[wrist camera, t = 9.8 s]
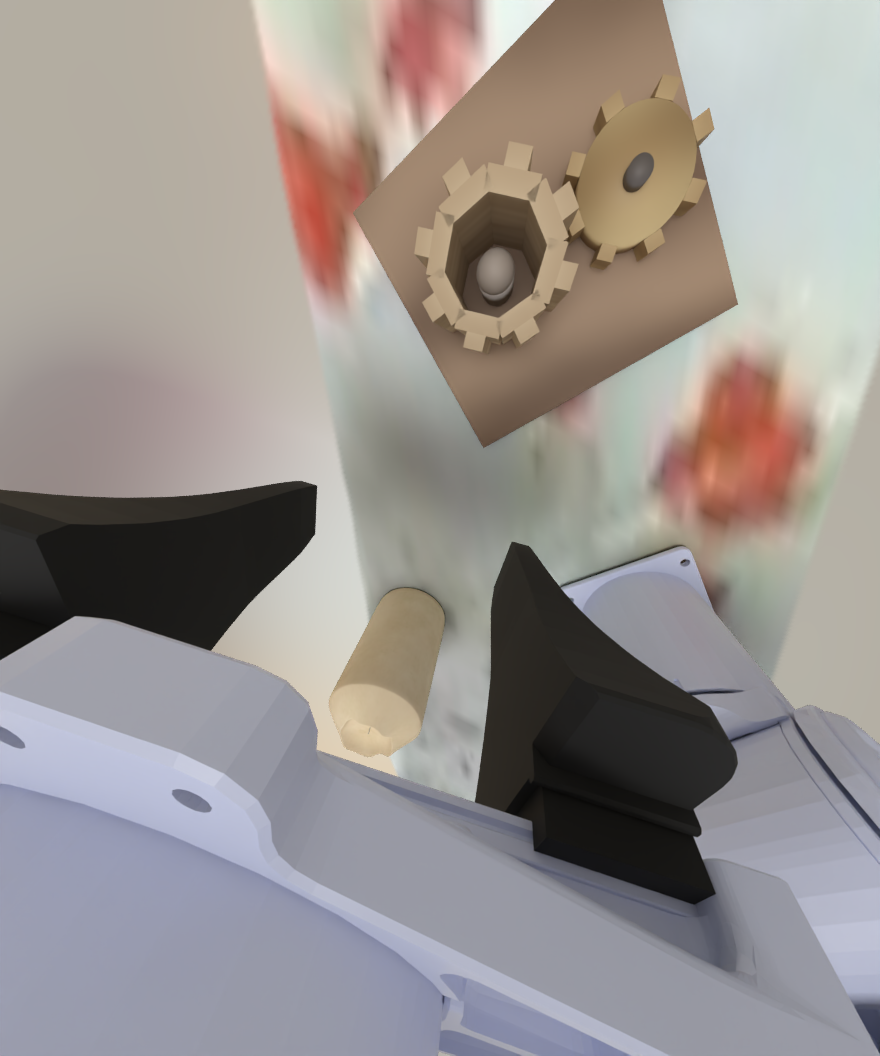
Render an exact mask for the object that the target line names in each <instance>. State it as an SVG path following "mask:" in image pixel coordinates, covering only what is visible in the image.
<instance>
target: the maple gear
mask: <svg viewBox="0 0 880 1056" xmlns="http://www.w3.org/2000/svg"><path fill="white" fill-rule="evenodd" d="M532 154H533V146H530V145H525V144H521V143H516V142H511V141H509V144H508V149H507V153H506V158H505V162H504V166H503V165H499V164H494V163H490V162H489V163H488V168H487V169H486V167H485V164H483V165H482V166H481V167H480V168H479V169H478V170H477V171H476V172H475V173H474V174H473V175H472V176H470V174H469V171H468V169H467V167H466V165H465V162H464V160H463V158H461V159H460V160H459V161H458V162H457V163H456V164H455V165H454V166H453V167H452V168H451V169H450V170H449V171H448V172H447V173H446V174H444V175H443V176H442V178H443V181H444V183H445V186H446V189H447V192H448V195H449V197H448V198H447V199H446V200H445V201H444V202H443V203H442V204H441V205H440V206H439V209H440V211H441V212H437V211H436V216H435V222H434V228H433V230H431V229H427V228H422V227H418V231H417V238H416V245H415V252H414V254H415V256H416V257H417V258H418V259H419V260H420V261H421V263H422V264H423V265H424V266H425V267H426V268H427V272H426V275H427V276H428V277H429V278H427V280H428V282H429V284H430V286H431V288H432V290H433V292H434V293H433V294H432V295H430V296H429V297H428V298H427V299H426V300H424V301H423V302H422V303H423V305H424V307H425V309H426V311H427V312H428V314H429V316H430V318H431V320H432V322H433V323H435V324H437V325H439V326H441V327H443V328H445V329H446V330H448V331H450V332H452V333H454V332H455V331H456V330H458V331H460V332H461V333H463V334H464V335H466V337H465V341H464V345H463V347H464V348H467V349H470V350H473V351H477V352H481V353H485V354H489V351H490V347H491V343H493V344H497V345H501V342H502V343H503V345H504V344H505V343H507V342H508V341H509V340H511V339H512V340H513V342H514V345H515V347H516V349H517V348H519V347H520V346H522V345H523V344H525V343H526V342H528V341H529V340H531V339H532V338H533V337H534V336H535V335H536V334H537V333H539V332H540V331H539V329H538V326H537V324H536V321H537V319H538V318H539V317H540V315H541V314H542V313H543V311H544V310H545V311H549V312H551V311H552V310H553V309H554V308H555V307H556V306H557V304H558V303H559V302H560V301H561V300H562V299H563V298H564V297H565V296H566V294H567V293H568V292H569V291H570V288H571V285H572V282H573V279H574V276H575V273H576V271H577V268H578V265H579V264H576V263H572V262H568V261H563V258H564V255H565V252H566V249H567V246H568V243H569V242H567V239H568V237H569V236H568V233H567V232H568V230H569V228H570V226H571V224H572V222H573V219H574V217H575V215H576V213H577V211H578V209H579V206H578V203H577V200H576V197H575V195H574V192H573V189H572V186H571V184H570V181H569V182H567V183H566V184H565V185H564V186H563V187H561V188H560V189H559V190H558V191H556V192H555V193H554V194H552V192H551V189H550V186H549V184H548V181H547V179H546V178H545V179H544V180H542V175H543V174H540V173H535V172H530V170H531V162H532ZM541 180H542V181H541ZM494 244H496V245H500V246H504V247H508V248H513V249H517V250H521V251H522V252H523V254H524V256H525V259H526V261H527V263H528V266H529V268H530V270H531V273H532V275H533V277H534V280H535V281H534V284H533V288H532V291H531V295H530V296H528V297H527V298H526V299H524V300H523V301H522V302H520V303H519V304H517V305H516V306H515V307H513V308H512V309H511V310H509V311H508V312H506V313H505V314H504V315H502V316H501V317H499V318H496V317H492V316H488V315H484V314H480V313H476V312H472V311H469V310H468V308H467V306H466V304H465V302H464V300H463V298H462V297H463V292H464V287H465V282H466V278H467V273H468V268H469V264H471V263H472V262H473V261H474V260H475V259H477V258H478V257H479V256H480V255H482V254H483V253H484V252H485V251H486V250H488V249H489V248H490V247H491V246H492V245H494Z"/></svg>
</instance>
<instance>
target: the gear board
mask: <svg viewBox="0 0 880 1056" xmlns="http://www.w3.org/2000/svg"><path fill="white" fill-rule="evenodd" d="M713 130H714V126H713V122H712V117H711V113H710V109H709V108H708V109H707V110H706V111H704V112H703V113H702V114H701V115H699V116H698V117H697V118H695V119H694V120H693V121H692V117H691V113H690V109H689V105H688V101H687V97H686V93H685V89H684V85H683V81H682V77H681V73H680V69H679V65H678V61H677V57H676V53H675V49H674V45H673V41H672V37H671V33H670V29H669V25H668V21H667V17H666V13H665V9H664V5H663V1H662V0H555V1H554V2H553V3H552V4H551V5H550V6H549V7H548V8H547V9H546V10H545V11H544V12H543V13H542V14H541V15H540V17H539V18H538V19H537V20H536V21H535V22H534V23H533V24H532V25H531V26H530V27H529V28H528V29H527V30H526V31H525V32H524V33H523V34H522V35H521V37H520V38H519V39H518V40H517V41H516V42H515V43H514V44H513V45H512V46H511V47H510V48H509V49H508V50H507V51H506V52H505V53H504V54H503V55H502V57H501V58H500V59H499V60H498V61H497V62H496V63H495V64H494V65H493V66H492V67H491V68H490V69H489V70H488V71H487V72H486V73H485V74H484V75H483V76H482V78H481V79H480V80H479V81H478V82H477V83H476V84H475V85H474V86H473V87H472V88H471V89H470V90H469V91H468V92H467V93H466V94H465V95H464V96H463V98H462V99H461V100H460V101H459V102H458V103H457V104H456V105H455V106H454V107H453V108H452V109H451V110H450V111H449V112H448V113H447V114H446V115H445V116H444V118H443V119H442V120H441V121H440V122H439V123H438V124H437V125H436V126H435V127H434V128H433V129H432V130H431V131H430V132H429V133H428V134H427V135H426V136H425V138H424V139H423V140H422V141H421V142H420V143H419V144H418V145H417V146H416V147H415V148H414V149H413V150H412V151H411V152H410V153H409V154H408V155H407V156H406V158H405V159H404V160H403V161H402V162H401V163H400V164H399V165H398V166H397V167H396V168H395V169H394V170H393V171H392V172H391V173H390V174H389V175H388V176H387V178H386V179H385V180H384V181H383V182H382V183H381V184H380V185H379V186H378V187H377V188H376V189H375V190H374V191H373V192H372V193H371V194H370V195H369V196H368V197H367V199H366V200H365V201H364V202H363V203H362V204H361V205H360V206H359V207H358V208H357V209H356V210H355V211H354V212H353V214H354V216H355V218H356V219H357V221H358V223H359V225H360V227H361V228H362V230H363V232H364V234H365V236H366V237H367V239H368V241H369V243H370V245H371V246H372V248H373V250H374V252H375V254H376V255H377V257H378V259H379V261H380V263H381V264H382V266H383V268H384V270H385V272H386V273H387V275H388V277H389V279H390V281H391V282H392V284H393V286H394V288H395V290H396V291H397V293H398V295H399V297H400V299H401V300H402V302H403V304H404V306H405V308H406V309H407V311H408V313H409V315H410V317H411V318H412V320H413V322H414V324H415V326H416V327H417V329H418V331H419V333H420V334H421V336H422V338H423V340H424V342H425V343H426V345H427V347H428V349H429V351H430V352H431V354H432V356H433V358H434V360H435V361H436V363H437V365H438V367H439V369H440V370H441V372H442V374H443V376H444V378H445V379H446V381H447V383H448V385H449V387H450V388H451V390H452V392H453V394H454V396H455V397H456V399H457V401H458V403H459V405H460V406H461V408H462V410H463V412H464V414H465V415H466V417H467V419H468V421H469V423H470V424H471V426H472V428H473V430H474V432H475V433H476V435H477V437H478V439H479V441H480V442H481V444H482V446H483V448H484V447H486V446H488V445H490V444H491V443H493V442H495V441H497V440H499V439H500V438H502V437H504V436H506V435H507V434H509V433H511V432H513V431H514V430H516V429H518V428H520V427H522V426H523V425H525V424H527V423H529V422H530V421H532V420H534V419H536V418H538V417H539V416H541V415H543V414H545V413H546V412H548V411H550V410H552V409H553V408H555V407H557V406H559V405H561V404H562V403H564V402H566V401H568V400H569V399H571V398H573V397H575V396H576V395H578V394H580V393H582V392H584V391H585V390H587V389H589V388H591V387H592V386H594V385H596V384H598V383H600V382H601V381H603V380H605V379H607V378H608V377H610V376H612V375H614V374H615V373H617V372H619V371H621V370H623V369H624V368H626V367H628V366H630V365H631V364H633V363H635V362H637V361H638V360H640V359H642V358H644V357H646V356H647V355H649V354H651V353H653V352H654V351H656V350H658V349H660V348H662V347H663V346H665V345H667V344H669V343H670V342H672V341H674V340H676V339H677V338H679V337H681V336H683V335H685V334H686V333H688V332H690V331H692V330H693V329H695V328H697V327H699V326H700V325H702V324H704V323H706V322H708V321H709V320H711V319H713V318H715V317H716V316H718V315H720V314H722V313H724V312H725V311H727V310H729V309H731V308H732V307H734V306H736V305H738V303H737V299H736V294H735V290H734V286H733V282H732V278H731V274H730V270H729V266H728V262H727V258H726V254H725V250H724V246H723V242H722V238H721V234H720V230H719V226H718V222H717V218H716V214H715V210H714V206H713V202H712V198H711V194H710V190H709V186H708V182H707V178H706V174H705V170H704V166H703V162H702V158H701V154H700V150H699V145H700V144H701V143H702V142H703V141H704V140H705V139H706V138H707V137H708V135H709V134H710V133H711V132H712V131H713ZM509 141H511V142H516V143H521V144H525V145H530V146H533V154H532V162H531V170H530V172H535V173H540V174H543V175H542V180H544V179H545V178H546V179H547V181H548V184H549V186H550V189H551V192H552V194H554V193H555V192H556V191H558V190H559V189H560V188H561V187H563V186H564V185H565V184H566V183H567V182H569V181H570V184H571V186H572V189H573V192H574V195H575V197H576V200H577V203H578V206H579V209H578V211H577V213H576V215H575V217H574V219H573V222H572V224H571V226H570V228H569V230H568V232H567V233H568V236H569V237H568V239H567V242H569V243H568V246H567V249H566V252H565V255H564V258H563V261H568V262H572V263H576V264H579V265H578V268H577V271H576V273H575V276H574V279H573V282H572V285H571V288H570V291H569V292H568V293H567V294H566V296H565V297H564V298H563V299H562V300H561V301H560V302H559V303H558V304H557V306H556V307H555V308H554V309H553V310H552V311H551V312H549V311H545V310H544V311H543V313H542V314H541V315H540V317H539V318H538V319H537V321H536V324H537V326H538V329H539V331H540V332H539V333H537V334H536V335H535V336H534V337H533V338H532V339H531V340H529V341H528V342H526V343H525V344H523V345H522V346H520V347H519V348H517V349H516V347H515V345H514V342H513V340H512V339H511V340H509V341H508V342H507V343H505V344H504V345H503V343H502V342H501V345H497V344H493V343H491V347H490V351H489V354H485V353H481V352H477V351H473V350H470V349H467V348H464V347H463V345H464V341H465V337H466V335H464V334H463V333H461V332H460V331H458V330H456V331H455V332H454V333H452V332H450V331H448V330H446V329H445V328H443V327H441V326H439V325H437V324H435V323H433V322H432V320H431V318H430V316H429V314H428V312H427V311H426V309H425V307H424V305H423V303H422V302H423V301H424V300H426V299H427V298H428V297H429V296H430V295H432V294H433V293H434V292H433V290H432V288H431V286H430V284H429V282H428V280H427V278H429V277H428V276H427V275H426V272H427V268H426V267H425V266H424V265H423V264H422V263H421V261H420V260H419V259H418V258H417V257H416V256H415V254H414V252H415V245H416V238H417V231H418V227H422V228H427V229H431V230H433V228H434V222H435V216H436V211H437V212H441V211H440V209H439V206H440V205H441V204H442V203H443V202H444V201H445V200H446V199H447V198H448V197H449V195H448V192H447V189H446V186H445V183H444V181H443V178H442V176H443V175H444V174H446V173H447V172H448V171H449V170H450V169H451V168H452V167H453V166H454V165H455V164H456V163H457V162H458V161H459V160H460V159H461V158H463V160H464V162H465V165H466V167H467V169H468V171H469V174H470V176H472V175H473V174H474V173H475V172H476V171H477V170H478V169H479V168H480V167H481V166H482V165H483V164H485V167H486V169H487V168H488V163H489V162H490V163H494V164H499V165H503V166H504V162H505V158H506V153H507V149H508V144H509ZM542 180H541V181H542ZM534 281H535V280H534V277H533V275H532V273H531V270H530V268H529V266H528V263H527V261H526V259H525V256H524V254H523V252H522V251H521V250H517V249H513V248H508V247H504V246H500V245H496V244H494V245H492V246H491V247H490V248H489V249H488V250H486V251H485V252H484V253H483V254H482V255H480V256H479V257H478V258H477V259H475V260H474V261H473V262H472V263H471V264H469V268H468V273H467V278H466V282H465V287H464V292H463V297H462V298H463V300H464V302H465V304H466V306H467V308H468V310H469V311H472V312H476V313H480V314H484V315H488V316H492V317H496V318H499V317H501V316H502V315H504V314H505V313H506V312H508V311H509V310H511V309H512V308H513V307H515V306H516V305H517V304H519V303H520V302H522V301H523V300H524V299H526V298H527V297H528V296H530V295H531V291H532V288H533V284H534Z"/></svg>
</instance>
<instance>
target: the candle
mask: <svg viewBox="0 0 880 1056" xmlns="http://www.w3.org/2000/svg"><path fill="white" fill-rule="evenodd" d="M444 626H445V616H444V612H443V609H442V607H441V606H440V604H439V603H438V602H437V601H436V600H435V599H434V598H433V597H431V596H430V595H428V594H427V593H425V592H423V591H420V590H417V589H413V588H399V589H395V590H392V591H390V592H389V593H387V594H386V595H385V596H384V597H383V598H382V599H381V601H380V603H379V604H378V606H377V608H376V610H375V612H374V614H373V615H372V617H371V619H370V621H369V623H368V625H367V627H366V629H365V631H364V633H363V635H362V637H361V639H360V640H359V642H358V644H357V646H356V648H355V650H354V652H353V654H352V656H351V658H350V659H349V661H348V663H347V665H346V667H345V669H344V671H343V673H342V675H341V677H340V679H339V680H338V682H337V685H336V686H335V688H334V690H333V692H332V694H331V696H330V699H329V708H330V712H331V715H332V718H333V720H334V723H335V725H336V728H337V730H338V732H339V735H340V738H341V741H342V744H343V746H344V747H345V748H346V749H348V750H350V751H353V752H356V753H358V754H360V755H363V756H366V757H372V756H374V755H377V754H383V755H385V756H387V757H389V756H391V755H392V754H393V753H394V752H396V751H397V750H399V749H400V748H402V747H403V746H405V745H406V744H408V743H410V742H411V741H413V740H414V739H415V738H417V736H418V735H419V733H420V731H421V727H422V723H423V718H424V714H425V710H426V705H427V701H428V697H429V692H430V688H431V684H432V679H433V675H434V671H435V666H436V662H437V657H438V653H439V649H440V644H441V640H442V636H443V631H444Z"/></svg>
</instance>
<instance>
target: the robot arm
mask: <svg viewBox="0 0 880 1056" xmlns="http://www.w3.org/2000/svg"><path fill="white" fill-rule="evenodd" d="M316 498H317V486H316V485H313V484H309V483H306V482H302V481H293V482H284V483H277V484H271V485H266V486H260V487H253V488H247V489H241V490H234V491H226V492H219V493H212V494H203V495H193V496H179V497H155V498H154V497H151V498H150V497H149V498H106V497H83V496H65V495H51V494H40V493H30V492H19V491H7V490H0V1056H438V1051H439V1052H442V1053H445V1054H448V1055H451V1056H880V744H878V743H877V742H876V741H875V740H874V739H873V738H872V737H870V736H869V735H868V734H867V733H866V732H865V731H864V730H862V729H861V728H860V727H859V726H857V725H856V724H855V723H854V722H852V721H851V720H849V719H848V718H846V717H844V716H840V715H837V714H834V713H831V712H827V711H823V710H821V709H820V708H818V707H816V706H813V705H807V706H804V707H802V708H799V709H796V710H795V709H794V708H793V707H792V705H791V704H790V703H789V702H788V701H787V700H786V698H785V697H784V696H783V695H782V693H781V692H780V691H779V690H778V689H777V687H776V686H775V685H774V684H773V682H772V681H771V680H770V679H769V678H768V676H767V675H766V674H765V673H764V672H763V670H762V669H761V668H760V667H759V666H758V664H757V663H756V662H755V661H754V660H753V658H752V657H751V656H750V655H749V654H748V652H747V651H746V650H745V649H744V648H743V646H742V645H741V644H740V643H739V641H738V640H737V639H736V638H735V637H734V635H733V634H732V633H731V632H730V631H729V629H728V628H727V627H726V626H725V625H724V623H723V622H722V621H721V620H720V619H719V617H718V616H717V615H716V614H715V613H714V611H713V608H712V605H711V603H710V600H709V597H708V595H707V592H706V589H705V587H704V584H703V581H702V579H701V576H700V573H699V571H698V568H697V566H696V563H695V560H694V558H693V555H692V553H691V551H690V550H689V549H688V548H686V547H683V546H680V547H676V548H673V549H670V550H667V551H664V552H662V553H659V554H656V555H653V556H650V557H647V558H644V559H641V560H638V561H636V562H633V563H630V564H627V565H624V566H621V567H618V568H615V569H613V570H610V571H607V572H604V573H601V574H598V575H595V576H592V577H589V578H587V579H584V580H581V581H578V582H575V583H572V584H569V585H566V586H564V587H561V588H560V587H559V585H558V584H557V583H556V582H555V580H554V579H553V578H552V576H551V575H550V574H549V572H548V571H547V570H546V568H545V567H544V566H543V564H542V563H541V561H540V560H539V559H538V557H537V556H536V555H535V553H534V552H533V550H532V549H531V548H530V547H529V546H526V545H523V544H519V543H516V542H512V543H511V545H510V548H509V550H508V553H507V555H506V558H505V561H504V563H503V566H502V568H501V571H500V573H499V576H498V579H497V581H496V584H495V586H494V592H493V599H492V607H491V679H490V689H489V699H488V708H487V717H486V725H485V733H484V742H483V749H482V756H481V764H480V771H479V779H478V785H477V792H476V799H475V802H472V801H469V800H466V799H463V798H460V797H457V796H454V795H451V794H448V793H445V792H442V791H439V790H436V789H433V788H430V787H427V786H424V785H421V784H418V783H415V782H412V781H409V780H406V779H403V778H400V777H397V776H393V775H390V774H388V773H384V772H382V771H378V770H376V769H373V768H370V767H366V766H364V765H361V764H358V763H355V762H351V761H349V760H346V759H343V758H339V757H336V756H334V755H330V754H327V753H324V752H321V751H318V750H316V747H317V732H318V730H317V727H316V724H315V721H314V718H313V715H312V712H311V709H310V706H309V704H308V702H307V700H306V699H304V697H303V696H302V695H300V694H299V693H298V692H297V691H296V690H295V689H294V688H293V687H292V686H291V685H290V684H289V683H288V682H287V681H286V680H284V679H282V678H280V677H278V676H276V675H274V674H272V673H270V672H268V671H266V670H264V669H262V668H260V667H258V666H256V665H253V664H250V663H246V662H243V661H240V660H237V659H234V658H231V657H227V656H225V655H221V654H218V653H215V652H212V651H211V650H212V649H213V647H214V646H215V645H216V643H217V642H218V641H219V640H220V638H221V637H222V636H223V635H224V633H225V632H226V631H227V629H228V628H229V627H230V626H231V624H232V623H233V622H234V621H235V620H236V619H237V617H238V616H239V615H240V614H241V612H242V611H243V610H244V609H245V608H246V607H247V605H248V604H249V603H250V602H251V601H252V600H253V599H254V598H255V597H256V596H257V595H258V594H259V593H260V592H261V591H262V590H263V589H264V588H265V587H266V586H267V585H268V584H269V583H270V582H271V581H272V580H274V578H275V577H277V576H278V575H279V574H280V573H281V572H282V571H283V570H284V569H285V568H286V567H287V566H288V565H289V564H290V563H291V562H292V561H293V560H294V559H295V558H296V557H297V556H298V555H299V554H300V553H301V552H302V551H303V549H304V548H305V547H306V546H307V544H308V543H309V541H310V540H311V538H312V537H313V536H314V535H315V523H316ZM684 559H687V560H686V562H684V563H680V562H681V561H682V560H684ZM570 598H572V599H571V600H570Z"/></svg>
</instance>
